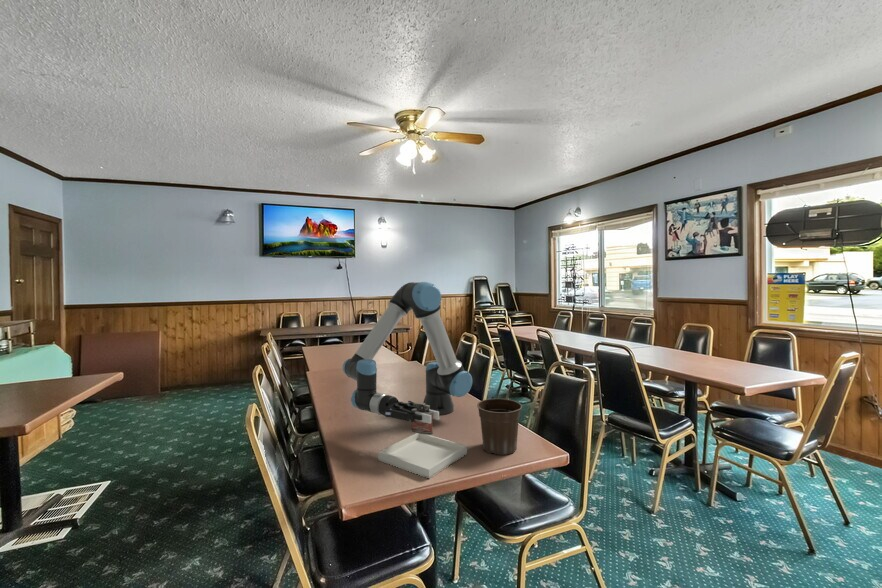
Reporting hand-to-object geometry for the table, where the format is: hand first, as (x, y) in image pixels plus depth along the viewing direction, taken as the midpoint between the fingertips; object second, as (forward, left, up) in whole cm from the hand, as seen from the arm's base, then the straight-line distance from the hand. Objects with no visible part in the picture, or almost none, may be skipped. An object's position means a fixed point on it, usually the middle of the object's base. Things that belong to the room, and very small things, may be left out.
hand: (434, 417), depth 131 cm
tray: (0, -5, -15) cm, 16 cm away
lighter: (0, -5, -6) cm, 8 cm away
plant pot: (-22, +13, -15) cm, 30 cm away
